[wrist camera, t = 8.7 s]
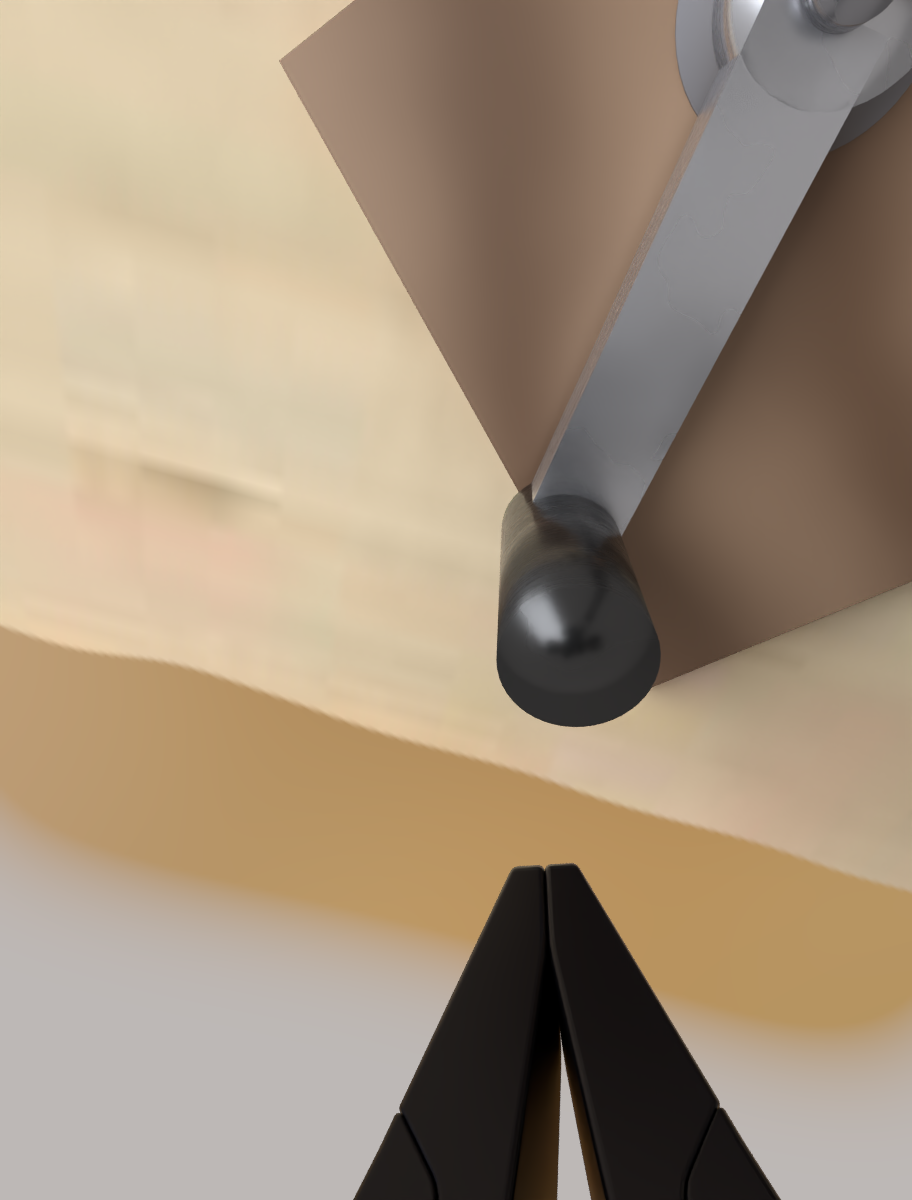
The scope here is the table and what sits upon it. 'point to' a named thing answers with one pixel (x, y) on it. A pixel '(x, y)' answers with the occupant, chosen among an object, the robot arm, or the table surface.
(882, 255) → the press bench
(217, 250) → the table surface
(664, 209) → the lever
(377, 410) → the table surface
